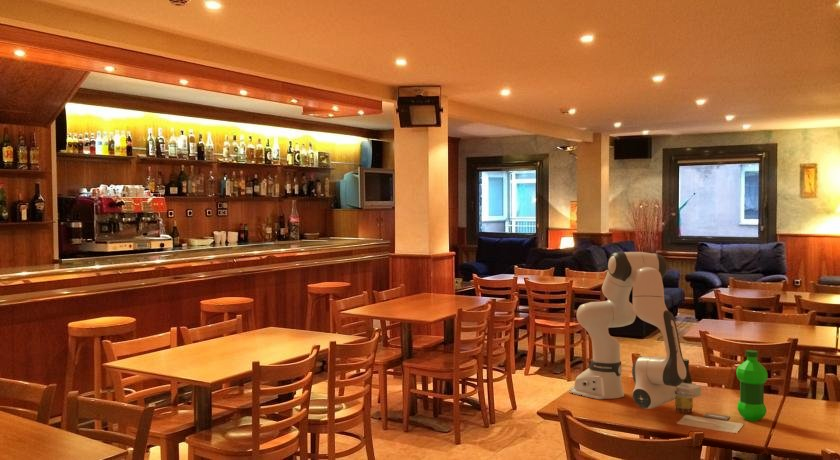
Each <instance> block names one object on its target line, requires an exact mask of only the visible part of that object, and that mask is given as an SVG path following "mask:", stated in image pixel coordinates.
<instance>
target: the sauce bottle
mask: <svg viewBox="0 0 840 460" xmlns="http://www.w3.org/2000/svg"><path fill="white" fill-rule="evenodd" d="M683 360H684V363H685V366H686V370H687V376H686V379H685V380H684V381H683V382H682V383H688V384H691V383H693V378H692V376H691V373H690V368H689V367H690V366H689V364H690V360H689V359H688V358H683ZM693 399H694V398H684V397H679V396H676V398H675V399H674V407H675V411H676V412H677V413H681V414H690V413H692V412H693V405H694V403H693V401H694V400H693Z"/></svg>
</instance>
